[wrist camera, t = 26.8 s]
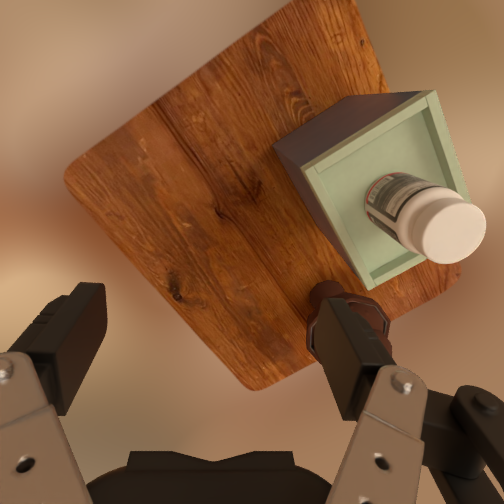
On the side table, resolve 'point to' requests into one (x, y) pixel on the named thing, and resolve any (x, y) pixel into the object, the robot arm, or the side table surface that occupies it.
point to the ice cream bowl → (356, 304)
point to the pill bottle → (425, 217)
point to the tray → (375, 166)
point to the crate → (331, 145)
